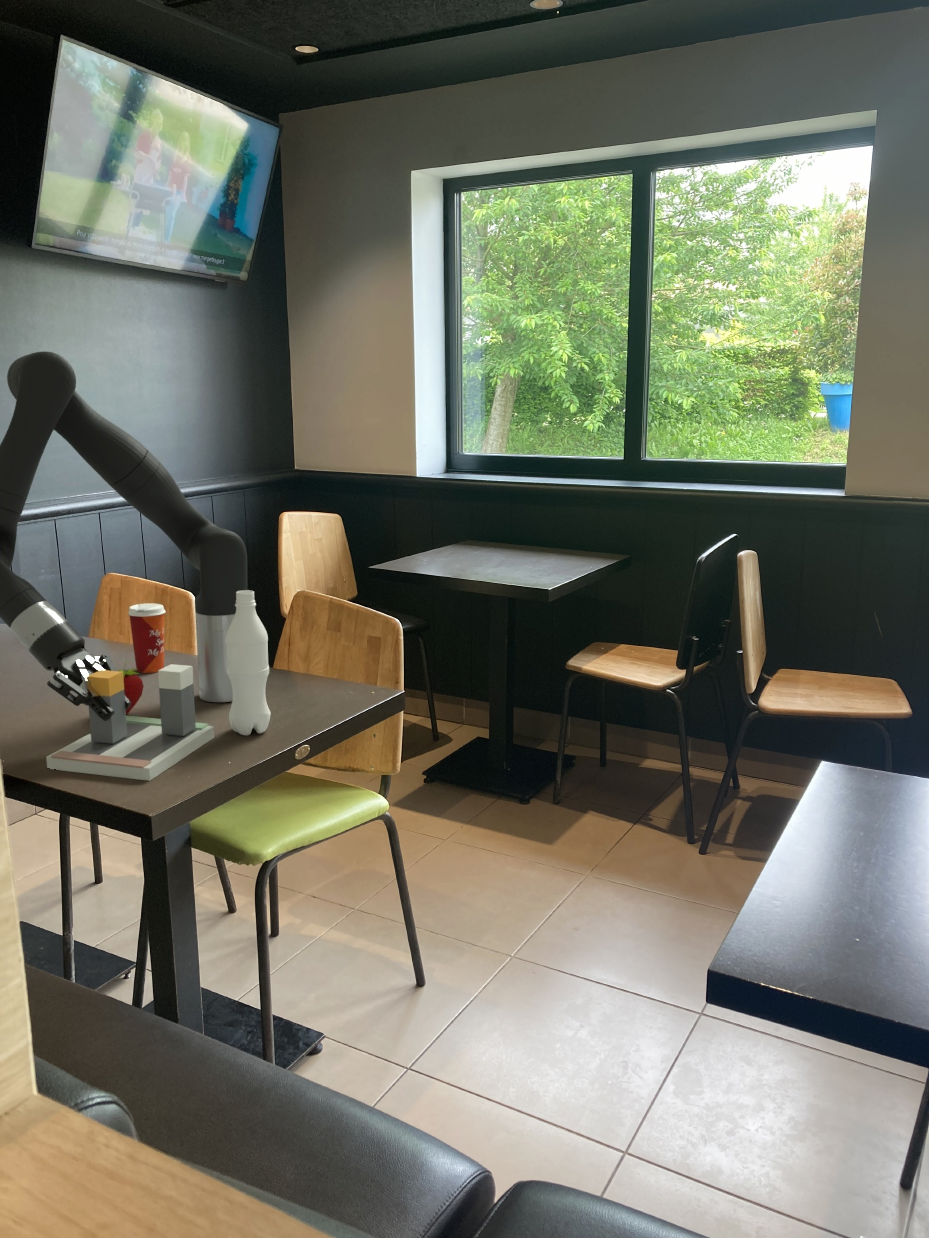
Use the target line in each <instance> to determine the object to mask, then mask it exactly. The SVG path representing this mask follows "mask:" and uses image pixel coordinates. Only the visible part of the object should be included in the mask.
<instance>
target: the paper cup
mask: <svg viewBox="0 0 929 1238" xmlns="http://www.w3.org/2000/svg"><path fill="white" fill-rule="evenodd" d="M128 610H129V611H128V612H127V615H128V616H129V623H130V631H131V637H132V647H133V653H134V661H135V669H138V670H136V673H139V674H155V673H156V674H157V673H158V670H160V669H162V668H164V667H165V614H166V612H167V611H166V609H165V608H164V605H163V604H160V603H151V602H150V603H149V602H147V603H138V604H137V603H136V604H133V605H131V606H129V609H128Z"/></svg>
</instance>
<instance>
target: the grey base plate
mask: <svg viewBox="0 0 929 1238" xmlns="http://www.w3.org/2000/svg"><path fill="white" fill-rule="evenodd" d="M193 669H194V668H193V665H183V664H171V663H170V664H168V665H166V666H164V668H162V669H160V670H158V672H157V675H158V677H157V678H158V689H159V690H158V692H159V706H160V709H159V710H160V718H156V717H155V718H154V717H146V716H145V717H144V716H136V715H135V716H133V715H126V723H127V736H126V737H124V738H122V739H120V740H119V741H117V742H115V743H113V744H112V743H103V742H93V741H91V732H90V733H88V734H86V735H85V736H82V737H81V738H79V739H77V740H76V741H73V742H72V743H70V744H68V745H66V746H64V747H62V748H60V749H58V750H56V751H54V752H52V753H50V754H49V755H47V756H46V768H50V769H49V770H54V769H56V771H63V772H71V773H81V774H89V775H96V776H97V775H98V776H106V777H113V778H114V777H115V778H122V779H131V780H132V779H133V780H141V781H149V782H151V781H152V780H154V779H155V778H157V777H158V776H160V774H162V773H164V772H165V771H166V770H168V769H169V768H171V767H173V766H174V765H176V764H177V763H179V762H181V761H182V760H183V759H184V758H186V757H187V756H190V754H191V753H193V752H195V751H196V750H198V749H199V748H200V747H203V745H205V744H207V743H208V742H210V741H211V740H213V739H214V738H215V726H213V725H210V724H209V723H205V722H204V723H203V722H196V710H195V709H196V708H195V690H194V689H195V687H194V670H193Z"/></svg>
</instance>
